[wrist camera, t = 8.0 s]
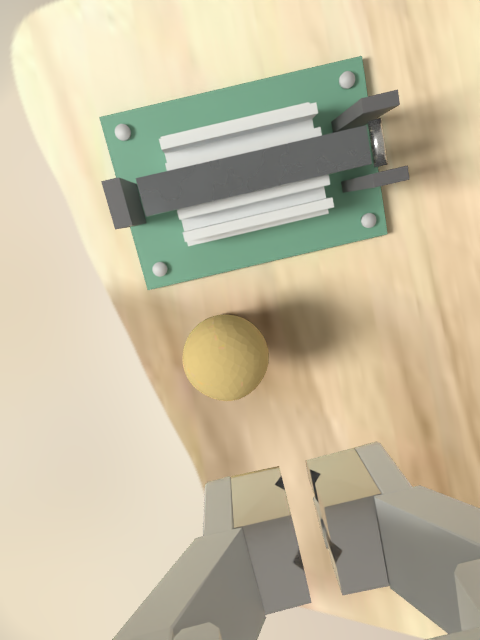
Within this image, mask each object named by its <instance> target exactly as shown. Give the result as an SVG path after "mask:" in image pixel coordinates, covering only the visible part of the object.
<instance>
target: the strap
mask: <svg viewBox="0 0 480 640" xmlns="http://www.w3.org/2000/svg"><path fill="white" fill-rule="evenodd" d="M368 128H369V135H370V142H371V149H372V156H373V163H374V167H378V166H383V165H387V164H388V163H387V156H386V148H385V141H384V134H383V127H382V120H381V118H378V119H374V120H371V121H368ZM370 164H372V161H371V154H370V147H369V141H368V134H367V127H366V125H365V126H361V127H356V128H352V129H348V130H343V131H339V132H335V133H330V134H326V135H322V136H317V137H313V138H309V139H304V140H300V141H296V142H291V143H287V144H282V145H278V146H274V147H269V148H265V149H261V150H256V151H252V152H248V153H243V154H239V155H235V156H230V157H226V158H222V159H217V160H213V161H209V162H204V163H200V164H195V165H191V166H187V167H182V168H178V169H174V170H169V171H165V172H161V173H156V174H152V175H148V176H143V177H139V178H136V182H137V186H138V189H139V193H140V197H141V200H142V204H143V208H144V211H145V215H146V216H152V215H156V214H160V213H165V212H169V211H173V210H178V209H182V208H186V207H190V206H195V205H199V204H203V203H208V202H212V201H216V200H220V199H225V198H229V197H233V196H238V195H242V194H246V193H251V192H255V191H259V190H263V189H268V188H272V187H276V186H281V185H285V184H289V183H293V182H298V181H302V180H306V179H311V178H315V177H319V176H324V175H328V174H332V173H336V172H341V171H345V170H349V169H354V168H358V167H362V166H366V165H370Z"/></svg>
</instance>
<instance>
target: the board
mask: <svg viewBox="0 0 480 640" xmlns="http://www.w3.org/2000/svg"><path fill="white" fill-rule="evenodd" d="M398 105H400V103H399V95H398V90H394V91H390V92H386V93H382V94H377V95H373V96H369V97H368V95H367V88H366V81H365V74H364V67H363V61H362V56H359V57H355V58H351V59H346V60H342V61H338V62H334V63H329V64H325V65H321V66H316V67H312V68H308V69H304V70H299V71H295V72H291V73H286V74H282V75H278V76H274V77H269V78H265V79H261V80H257V81H252V82H248V83H244V84H239V85H235V86H231V87H227V88H222V89H218V90H214V91H209V92H205V93H201V94H197V95H192V96H188V97H184V98H180V99H175V100H171V101H167V102H162V103H158V104H154V105H150V106H145V107H141V108H137V109H132V110H128V111H124V112H120V113H115V114H111V115H107V116H103V117H99V118H100V121H101V125H102V128H103V132H104V136H105V139H106V143H107V146H108V150H109V153H110V157H111V161H112V164H113V168H114V171H115V175H116V178H114V179H110V180H106V181H101V182H102V185H103V189H104V192H105V196H106V199H107V203H108V206H109V209H110V213H111V216H112V220H113V223H114V227H115V229H120V228H126V227H130V228H131V232H132V235H133V239H134V243H135V246H136V250H137V253H138V257H139V260H140V264H141V268H142V271H143V275H144V278H145V282H146V285H147V289H148V290H150V289H155V288H159V287H163V286H167V285H172V284H176V283H180V282H184V281H189V280H193V279H197V278H202V277H206V276H210V275H214V274H219V273H223V272H227V271H232V270H236V269H240V268H244V267H249V266H253V265H257V264H261V263H266V262H270V261H274V260H279V259H283V258H287V257H291V256H296V255H300V254H304V253H309V252H313V251H317V250H321V249H326V248H330V247H334V246H338V245H343V244H347V243H351V242H356V241H360V240H364V239H368V238H373V237H377V236H381V235H386V234H387V227H386V220H385V213H384V206H383V199H382V192H381V186H383V185H388V184H392V183H396V182H401V181H405V180H409V173H408V166H404V167H399V168H395V169H391V170H386V171H382V172H379V171H378V167H374V163H373V156H372V149H371V142H370V135H369V128H368V121H371V120H374V119H376V118H378V117H380V116H381V115H383V114H385V113H386V112H388V111H390V110H392V109H393V108H395V107H397V106H398ZM365 125H366V127H367V134H368V141H369V147H370V154H371V161H372V164H370V165H366V166H362V167H358V168H354V169H349V170H345V171H341V172H336V173H332V174H328V175H324V176H319V177H315V178H311V179H306V180H302V181H298V182H293V183H289V184H285V185H281V186H276V187H272V188H268V189H263V190H259V191H255V192H251V193H246V194H242V195H238V196H233V197H229V198H225V199H220V200H216V201H212V202H208V203H203V204H199V205H195V206H190V207H186V208H182V209H178V210H173V211H169V212H165V213H160V214H156V215H152V216H146V215H145V211H144V208H143V204H142V200H141V197H140V193H139V189H138V186H137V182H136V178H139V177H143V176H148V175H152V174H156V173H161V172H165V171H169V170H174V169H178V168H182V167H187V166H191V165H195V164H200V163H204V162H209V161H213V160H217V159H222V158H226V157H230V156H235V155H239V154H243V153H248V152H252V151H256V150H261V149H265V148H269V147H274V146H278V145H282V144H287V143H291V142H296V141H300V140H304V139H309V138H313V137H317V136H322V135H326V134H330V133H335V132H339V131H343V130H348V129H352V128H356V127H361V126H365Z"/></svg>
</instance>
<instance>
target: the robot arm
mask: <svg viewBox="0 0 480 640" xmlns="http://www.w3.org/2000/svg"><path fill="white" fill-rule="evenodd" d="M306 467H307V472H308V477H309V481H310V484H311V487H312V490H313V493H314V497H313V500H314V505H315V509H316V513H317V517H318V521H319V525H320V529H321V532H322V536H323V539H324V542H325V545H326V548H327V549H329V553H330V557H331V562H332V566H333V569H334V572H335V575H336V578H337V581H338V584H339V586H340V589H341V592H342V595H347V594H352V593H357V592H361V591H366V590H371V589H376V588H381V587H386V586H390V588H391V589H392V590H393V591H395V592H396V593H397V594H398V595H400V596H401V597H402V598H404V599H405V600H406V601H407V602H409V603H410V604H411V605H412V606H414V607H415V608H416V609H418V610H419V611H420V612H421V613H423V614H424V615H425V616H426V617H428V618H429V619H430V620H432V621H433V622H434V623H435V624H437V625H438V626H439V627H441V628H442V629H443V630H444V631H446V632H447V633H448V634H447V635H443V636H439V637H434V638H430V639H426V640H480V508H477V507H475V506H472V505H469V504H467V503H464V502H462V501H459V500H456V499H454V498H451V497H449V496H446V495H443V494H441V493H438V492H436V491H433V490H430V489H428V488H425V487H423V486H415V487H412V486H411V484H410V483H409V482H408V480H407V479H406V478H405V476H404V475H403V473H402V472H401V471H400V469H399V468H398V467H397V465H396V464H395V463H394V461H393V460H392V458H391V457H390V456H389V454H388V453H387V452H386V450H385V449H384V448H383V446H382V445H381V443H379V442H373V443H370V444H366V445H362V446H359V447H355V448H352V449H348V450H344V451H340V452H337V453H333V454H329V455H325V456H321V457H318V458H314V459H310V460H306ZM308 603H311V598H310V594H309V589H308V585H307V581H306V576H305V572H304V567H303V563H302V559H301V555H300V551H299V546H298V542H297V537H296V533H295V529H294V525H293V521H292V517H291V513H290V508H289V504H288V500H287V496H286V492H285V488H284V484H283V480H282V476H281V472H280V468H279V466H277V467H272V468H268V469H263V470H258V471H254V472H249V473H244V474H240V475H235V476H231V477H225V478H221V479H217V480H213V481H209V482H207V483H206V485H205V497H204V523H203V537H198V538H196V539H195V540H194V541H193V542H192V544H190V546H189V547H188V548H187V550H186V551H185V552H184V553H183V554H182V556H181V557H180V558H179V559H178V561H177V562H176V563H175V564H174V565H173V566H172V568H171V569H170V570H169V571H168V573H167V574H166V575H165V576H164V578H163V579H162V580H161V581H160V582H159V583H158V585H157V586H156V587H155V588H154V590H153V591H152V592H151V593H150V594H149V596H148V597H147V598H146V599H145V600H144V602H143V603H142V604H141V606H140V607H139V608H138V609H137V610H136V612H135V613H134V614H133V615H132V616H131V618H130V619H129V620H128V621H127V622H126V624H125V625H124V626H123V627H122V628H121V630H120V631H119V632H118V633H117V635H116V636H115V637H114V638H113V639H112V640H257V638H258V636H259V633H260V631H261V628H262V626H263V624H264V621H265V619H266V617H265V615H267V614H271V613H275V612H278V611H282V610H285V609H289V608H293V607H297V606H301V605H304V604H308Z"/></svg>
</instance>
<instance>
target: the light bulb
mask: <svg viewBox="0 0 480 640" xmlns="http://www.w3.org/2000/svg"><path fill="white" fill-rule="evenodd" d="M268 359H269V353H268V348H267V344H266V341H265V339H264V337H263V336H262V334H261V333H260V331H259V330H258V329H257V328H256V327H255V326H254V325H253V324H252V323H251V322H249V321H248V320H246V319H244V318H241V317H238V316H235V315H226V314H225V315H217V316H213V317H210V318H208V319H205V320H204V321H202V322H201V323H199V324H198V325H197V326H196V327H195V328H194V329H193V330H192V332H191V333H190V335H189V336H188V338H187V340H186V343H185V345H184V350H183V366H184V371H185V373H186V376H187V378H188V380H189V381H190V382H191V384H192V385H193V386H194V387H195V388H196V389H197V390H198V391H200V392H201V393H202V394H204V395H206V396H208V397H210V398H213V399H217V400H222V401H233V400H238V399H240V398H243V397H245V396H246V395H248V394H249V393H251V392H252V391H253V390H254V389H255V388H256V387H257V386H258V385H259V383H260V382H261V380H262V379H263V377H264V375H265V373H266V370H267V366H268Z"/></svg>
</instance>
